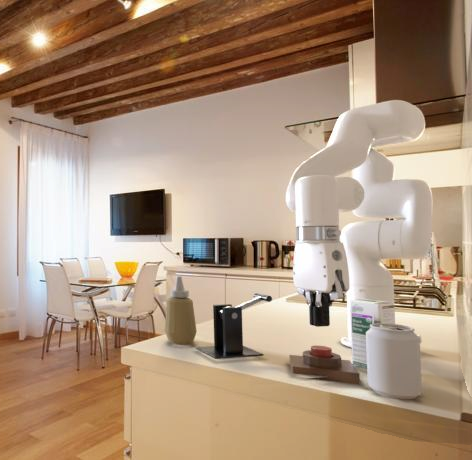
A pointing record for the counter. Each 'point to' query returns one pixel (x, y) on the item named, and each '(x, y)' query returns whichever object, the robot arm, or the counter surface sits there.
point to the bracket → (228, 334)
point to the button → (321, 351)
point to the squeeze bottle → (180, 316)
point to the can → (393, 360)
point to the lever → (251, 302)
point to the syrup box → (367, 324)
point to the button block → (325, 368)
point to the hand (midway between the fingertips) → (319, 325)
